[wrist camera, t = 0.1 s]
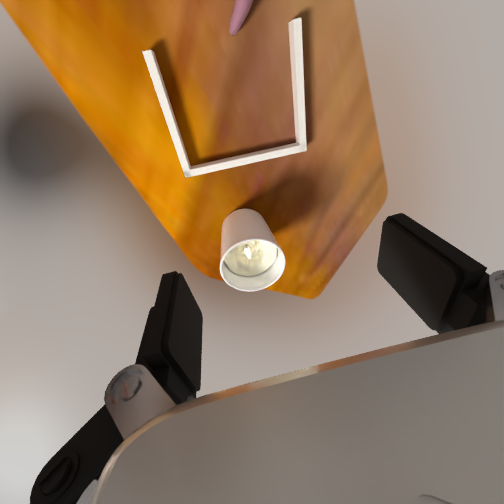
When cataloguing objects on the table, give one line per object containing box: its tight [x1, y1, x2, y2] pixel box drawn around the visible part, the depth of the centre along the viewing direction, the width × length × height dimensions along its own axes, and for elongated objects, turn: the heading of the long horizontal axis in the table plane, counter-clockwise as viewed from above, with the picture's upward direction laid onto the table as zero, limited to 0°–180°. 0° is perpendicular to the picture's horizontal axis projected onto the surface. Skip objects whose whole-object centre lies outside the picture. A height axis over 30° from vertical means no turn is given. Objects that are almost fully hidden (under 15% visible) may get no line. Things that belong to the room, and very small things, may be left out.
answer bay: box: [142, 18, 307, 178], centre depth 33 cm, size 15×19×2 cm
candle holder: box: [220, 209, 285, 291], centre depth 40 cm, size 10×10×12 cm
